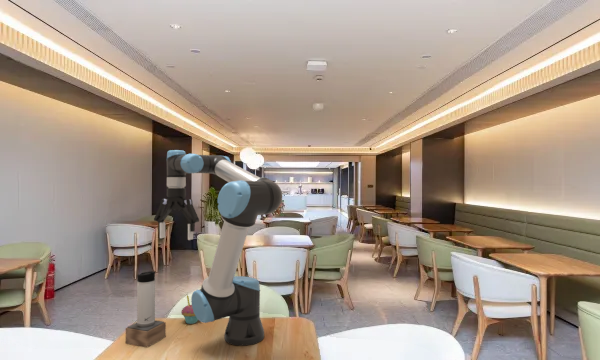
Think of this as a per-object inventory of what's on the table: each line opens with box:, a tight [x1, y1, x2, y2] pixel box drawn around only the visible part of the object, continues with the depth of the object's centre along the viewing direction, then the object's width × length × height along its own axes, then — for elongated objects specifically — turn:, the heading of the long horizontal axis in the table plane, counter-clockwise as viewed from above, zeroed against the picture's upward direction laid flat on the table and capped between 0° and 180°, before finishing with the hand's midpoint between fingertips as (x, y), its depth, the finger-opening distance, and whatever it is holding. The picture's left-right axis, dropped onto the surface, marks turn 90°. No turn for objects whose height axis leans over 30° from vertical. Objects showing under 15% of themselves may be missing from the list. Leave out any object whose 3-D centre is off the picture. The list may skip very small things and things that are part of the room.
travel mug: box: [136, 270, 156, 327], centre depth 147 cm, size 6×7×20 cm
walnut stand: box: [125, 319, 167, 348], centre depth 147 cm, size 10×10×6 cm
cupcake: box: [181, 294, 199, 325], centre depth 166 cm, size 9×8×12 cm
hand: (176, 238), depth 161 cm, fingers open, 13 cm apart
